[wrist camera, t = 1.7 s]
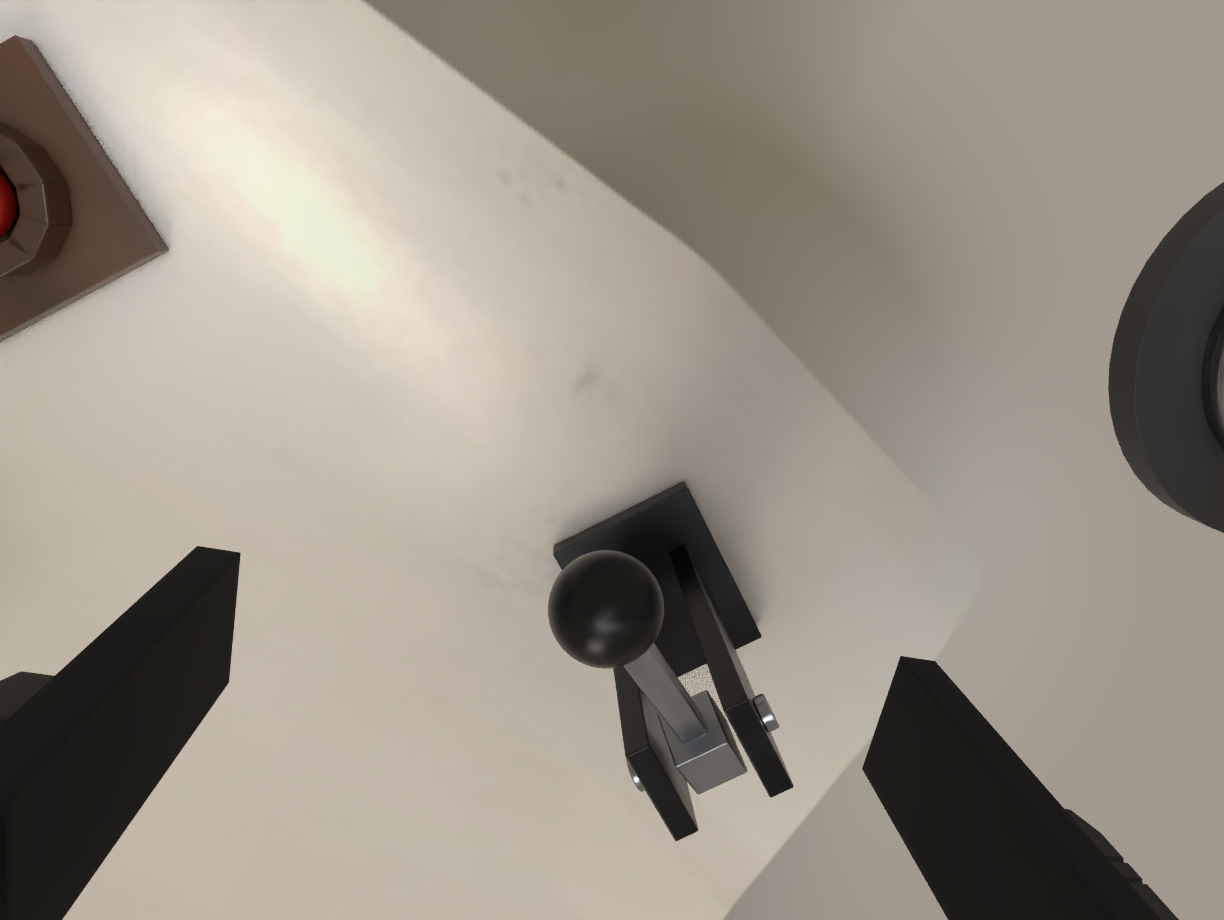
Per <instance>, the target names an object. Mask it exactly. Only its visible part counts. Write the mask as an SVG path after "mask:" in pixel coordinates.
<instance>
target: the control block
mask: <svg viewBox="0 0 1224 920" xmlns="http://www.w3.org/2000/svg"><path fill="white" fill-rule="evenodd" d="M0 172H1V173H2V174H3V175H4V176H5V178H6V179H7V180H8V182H9V184H10V185H11V187H12V190H13V192H14V195H15V200H16V215H15V219H14V222H13V224H12V226H11V227H10V229H9V230H8V231H7V232H6V233H5V234H4V235H3V236H1V237H0V342H1V341H2V340H4V339H6V338H8V337H10V336H12V335H14V334H15V333H17V332H19V331H21V330H23V329H25V328H27V327H28V326H30V325H32V324H34V323H36V322H38V321H39V320H41V319H43V318H45V317H47V316H49V315H51V314H52V313H54V312H56V311H58V310H60V309H62V308H63V307H65V306H67V305H69V304H71V303H73V302H75V301H76V300H78V299H80V298H82V297H84V296H86V295H88V294H89V293H91V292H93V291H95V290H97V289H99V288H100V287H102V286H104V285H106V284H108V283H110V282H112V281H113V280H115V279H117V278H119V277H121V276H123V275H124V274H126V273H128V272H130V271H132V270H134V269H136V268H137V267H139V266H141V265H143V264H145V263H147V262H148V261H150V260H152V259H154V258H156V257H158V256H160V255H161V254H163V253H165V252H167V251H168V248H167V247H166V245H165V244H164V242H163V241H162V239H161V238H160V236H159V235H158V233H157V232H156V230H155V229H154V227H153V225H152V224H151V222H150V221H149V219H148V218H147V216H146V215H145V213H144V212H143V210H142V209H141V207H140V206H139V204H138V202H137V201H136V199H135V198H134V196H133V195H132V193H131V192H130V190H129V189H128V187H127V186H126V184H125V183H124V181H123V179H122V178H121V176H120V175H119V173H118V172H117V170H116V169H115V167H114V166H113V164H112V163H111V161H110V160H109V158H108V157H107V155H106V153H105V152H104V150H103V149H102V147H101V146H100V144H99V143H98V141H97V140H96V138H95V137H94V135H93V134H92V132H91V130H90V129H89V127H88V126H87V124H86V123H85V121H84V120H83V118H82V117H81V115H80V114H79V112H78V111H77V109H76V107H75V106H74V104H73V103H72V101H71V100H70V98H69V97H68V95H67V94H66V92H65V91H64V89H63V88H62V86H61V84H60V83H59V81H58V80H57V78H56V77H55V75H54V74H53V72H52V71H51V69H50V68H49V66H48V65H47V63H46V62H45V60H44V58H43V57H42V55H41V54H40V52H39V51H38V49H37V48H36V46H35V45H34V43H33V42H32V41H30V40H27V39H25V38H22V37H19V36H16V35H15V36H13V37H11V38H9V39H8V40H6V41H4V42H2V43H1V44H0Z"/></svg>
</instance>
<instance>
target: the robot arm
mask: <svg viewBox="0 0 1224 920" xmlns="http://www.w3.org/2000/svg"><path fill="white" fill-rule="evenodd" d="M1202 400H1203V406H1204V411H1205V415H1206V418H1207V421H1208V424H1209V427H1210V429H1211V431H1212V433H1213V435H1214V437H1215V438H1216V440H1217V442H1218V443H1219V445H1220V446H1221V447H1222V449H1223V450H1224V307H1223V308H1222V310H1221V312H1220V314H1219V316H1218V318H1217V320H1216V322H1215V325H1214V327H1213V330H1212V332H1211V335H1210V338H1209V341H1208V344H1207V348H1206V351H1205V356H1204V362H1203V369H1202ZM239 564H240V553H238V552H232V551H226V550H219V549H213V548H206V547H200V546H197V547H196V548H195V549H194V550H193V551H191V552H190V553H189V554H188V555H187V556H186V557H185V558H184V559H183V560H182V561H180V562H179V563H178V564H177V565H176V566H175V567H174V568H173V569H172V570H171V571H169V572H168V573H167V574H166V575H165V576H164V577H163V578H162V579H161V580H160V581H158V582H157V583H156V584H155V585H154V586H153V587H152V588H151V589H150V590H149V591H148V592H146V593H145V594H144V595H143V596H142V597H141V598H140V599H139V600H138V601H137V602H135V603H134V604H133V605H132V606H131V607H130V608H129V609H128V610H127V611H126V612H124V613H123V614H122V615H121V616H120V617H119V618H118V619H117V620H116V621H115V622H114V623H112V624H111V625H110V626H109V627H108V628H107V629H106V630H105V631H104V632H103V633H101V634H100V635H99V636H98V637H97V638H96V639H95V640H94V641H93V642H92V643H90V644H89V645H88V646H87V647H86V648H85V649H84V650H83V651H82V652H81V653H80V654H78V655H77V656H76V657H75V658H74V659H73V660H72V661H71V662H70V663H69V664H67V665H66V666H65V667H64V668H63V669H62V670H61V671H60V672H59V673H58V674H56V675H55V676H51V675H43V674H36V673H28V672H19V673H17V674H15V675H12V676H10V677H8V678H6V679H3V680H1V681H0V920H62V919H63V918H64V916H65V915H66V913H67V912H68V911H69V909H70V908H71V906H72V905H73V903H74V902H75V901H76V899H77V898H78V896H79V895H80V893H81V892H82V891H83V889H84V888H85V886H86V885H87V883H88V882H89V881H90V879H91V878H92V876H93V875H94V874H95V872H96V871H97V869H98V868H99V866H100V865H101V864H102V862H103V861H104V859H105V858H106V856H107V855H108V854H109V852H110V851H111V849H112V848H113V846H114V845H115V844H116V842H117V841H118V839H119V838H120V837H121V835H122V834H123V832H124V831H125V829H126V828H127V827H128V825H129V824H130V822H131V821H132V819H133V818H134V817H135V815H136V814H137V812H138V811H139V810H140V808H141V807H142V805H143V804H144V802H145V801H146V800H147V798H148V797H149V795H150V794H151V792H152V791H153V790H154V788H155V787H156V785H157V784H158V782H159V781H160V780H161V778H162V777H163V775H164V774H165V773H166V771H167V770H168V768H169V767H170V765H171V764H172V763H173V761H174V760H175V758H176V757H177V755H178V754H179V753H180V751H181V750H182V748H183V747H184V745H185V744H186V743H187V741H188V740H189V738H190V737H191V736H192V734H193V733H194V731H195V730H196V728H197V727H198V726H199V724H200V723H201V721H202V720H203V718H204V717H205V716H206V714H207V713H208V711H209V710H210V708H211V707H212V706H213V704H214V703H215V701H216V700H217V699H218V697H219V696H220V694H221V693H222V691H223V690H224V689H225V687H226V686H227V684H228V683H229V675H230V664H231V653H232V642H233V630H234V619H235V608H236V597H237V586H238V575H239ZM862 769H863V771H864V773H865V774H866V776H867V778H868V780H869V781H870V783H871V785H872V787H873V788H874V790H875V792H876V794H877V796H878V797H879V799H880V801H881V803H882V804H883V806H884V808H885V810H886V811H887V813H888V815H889V817H890V818H891V820H892V822H893V824H894V825H895V827H896V829H897V831H898V832H899V834H900V836H901V838H902V839H903V841H904V843H905V845H906V846H907V848H908V850H909V852H910V853H911V855H912V857H913V859H914V860H915V862H916V864H917V866H918V867H919V869H920V871H921V873H922V875H923V876H924V878H925V880H926V881H927V883H928V885H929V887H930V888H931V890H932V892H933V894H934V895H935V897H936V899H937V901H938V903H939V904H940V906H941V908H942V909H943V911H944V913H945V915H946V917H947V918H948V920H1179V919H1178V918H1177V917H1176V916H1175V915H1174V914H1173V913H1172V912H1171V911H1170V910H1169V908H1168V907H1167V906H1166V905H1165V904H1164V903H1163V902H1162V901H1161V899H1160V898H1159V897H1158V896H1157V895H1156V894H1155V893H1154V892H1153V891H1152V889H1151V888H1149V886H1148V885H1146V884H1143V883H1142V878H1141V877H1140V876H1139V875H1138V874H1137V873H1136V872H1135V871H1134V869H1133V868H1132V867H1131V866H1130V865H1129V864H1128V863H1124V862H1123V857H1122V856H1121V855H1120V854H1119V853H1118V852H1117V851H1116V850H1115V848H1114V847H1113V846H1112V845H1111V844H1110V843H1109V842H1108V841H1107V840H1106V838H1105V837H1104V836H1103V835H1102V834H1101V833H1100V832H1099V831H1097V830H1096V829H1095V828H1093V827H1092V826H1091V825H1089V824H1088V823H1087V822H1086V821H1084V820H1083V819H1082V818H1080V817H1079V816H1078V815H1076V814H1075V813H1074V812H1072V811H1071V810H1068V809H1064V808H1063V807H1062V806H1061V805H1060V803H1059V802H1058V801H1057V800H1056V799H1055V798H1054V797H1053V795H1052V794H1051V793H1050V792H1049V791H1048V790H1047V789H1046V788H1045V786H1044V785H1043V784H1042V783H1041V782H1040V781H1039V780H1038V778H1037V777H1036V776H1035V775H1034V774H1033V773H1032V771H1031V770H1030V769H1029V768H1028V767H1027V766H1026V765H1025V763H1024V762H1023V761H1022V760H1021V759H1020V758H1019V757H1018V755H1017V754H1016V753H1015V752H1014V751H1013V750H1012V749H1011V747H1010V746H1009V745H1008V744H1007V743H1006V742H1005V741H1004V740H1003V738H1002V737H1001V736H1000V735H999V734H998V733H997V731H996V730H995V729H994V728H993V727H992V726H991V725H990V724H989V722H988V721H987V720H986V719H985V718H984V717H983V716H982V714H981V713H980V712H979V711H978V710H977V709H976V708H975V707H974V705H973V704H972V703H971V702H970V701H969V700H968V698H967V697H966V696H965V695H964V694H963V693H962V692H961V690H960V689H959V688H958V687H957V686H956V685H955V684H954V682H953V681H952V680H951V679H950V678H949V677H948V676H947V674H946V673H945V672H944V671H943V670H942V669H941V668H940V666H939V665H938V664H937V663H936V662H935V661H929V660H923V659H916V658H910V657H903V656H901V657H900V660H899V663H898V666H897V668H896V671H895V674H894V677H893V680H892V683H891V686H890V689H889V692H888V695H887V698H886V701H885V704H884V707H883V709H882V712H881V715H880V718H879V721H878V724H877V727H876V730H875V733H874V736H873V739H872V742H871V745H870V748H869V751H868V753H867V756H866V759H865V762H864V765H863V768H862Z"/></svg>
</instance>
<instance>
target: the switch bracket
mask: <svg viewBox="0 0 1224 920" xmlns="http://www.w3.org/2000/svg"><path fill="white" fill-rule="evenodd" d="M601 550H611V551H618V552H622V553H625V554H628V555H630V556H632V557H634V558H635V559H637V560H639V561H640V562H642V563H643V564H644V565H645V566H646V567H647V568H648V569H649V570H650V571H651V573H652V574H653V575H654V577H655V578H656V580H657V582H658V584H659V586H660V589H661V592H662V596H663V601H664V617H663V623H662V627H661V630H660V632H659V635H658V637H657V638H656V640H655V642H654V644H655V645H656V647H657V648H658V650H659V651H660V653H661V654H662V656H663V657H664V659H665V660H666V662H667V663H668V665H669V666H670V667H671V669H672V670H673V672H674V673H675V675H676V676H677V677H679V676H681V675H683V674H685V673H687V672H689V671H692V670H694V669H696V668H698V667H700V666H702V665H704V664H706V663H707V665H708V667H709V670H710V673H711V676H712V679H713V682H714V685H715V687H716V690H717V693H718V696H719V699H720V702H721V704H722V707H723V710H724V712H725V714H726V716H727V718H728V720H729V722H730V723H731V725H732V727H733V729H734V731H735V733H736V735H737V737H738V738H739V740H740V742H741V744H742V746H743V748H744V750H745V752H746V753H747V755H748V757H749V759H750V761H751V763H752V765H753V767H754V768H755V770H756V772H757V774H758V776H759V778H760V780H761V782H762V783H763V785H764V787H765V789H766V791H767V793H768V795H769V796H770V797H773V796H775V795H778V794H780V793H782V792H784V791H786V790H788V789H791V788H793V783H792V781H791V779H790V776H789V774H788V772H787V769H786V767H785V765H784V762H783V760H782V758H781V755H780V753H779V751H778V748H777V746H776V744H775V741H774V739H773V737H772V734H771V731H773V730H775V729H777V728H779V724H778V722H777V720H776V718H775V716H774V714H773V711H772V709H771V707H770V705H769V703H768V701H767V699H766V698H765V696H764V694H760V695H758V696H756V697H755V695H754V692H753V690H752V688H751V685H750V683H749V681H748V678H747V676H746V674H745V671H744V669H743V667H742V664H741V662H740V660H739V657H738V655H737V653H736V649H738V648H740V647H742V646H744V645H746V644H748V643H750V642H752V641H754V640H757V639H759V638H761V634H760V632H759V630H758V628H757V626H756V623H755V621H754V619H753V617H752V615H751V613H750V611H749V609H748V607H747V605H746V603H745V601H744V599H743V597H742V595H741V593H740V591H739V589H738V587H737V585H736V583H735V581H734V579H733V577H732V575H731V573H730V571H729V569H728V567H727V565H726V563H725V561H724V559H723V557H722V555H721V553H720V551H719V549H718V547H717V545H716V543H715V541H714V539H713V537H712V535H711V533H710V531H709V529H708V527H707V525H706V523H705V521H704V519H703V517H702V515H701V513H700V511H699V509H698V507H697V505H696V503H695V501H694V499H693V497H692V495H691V493H690V491H689V489H688V487H687V485H686V483H685V482H682V483H680V484H678V485H676V486H674V487H672V488H670V489H668V490H666V491H664V492H662V493H660V494H658V495H656V496H654V497H652V498H650V499H648V500H646V501H644V502H642V503H640V504H638V505H636V506H634V507H632V508H630V509H628V510H626V511H624V512H622V513H620V514H618V515H615V516H613V517H611V518H609V519H607V520H605V521H603V522H601V523H599V524H597V525H595V526H593V527H591V528H589V529H587V530H585V531H583V532H581V533H579V534H577V535H575V536H573V537H571V538H569V539H567V540H565V541H563V542H561V543H559V544H557V545H555V546H554V547H553V554H554V557H555V559H556V560H557V562H558V564H559V566H560V567H561V569H562V570H563V569H564V568H565V567H566V566H567V565H568V564H570V563H571V562H572V561H574V560H575V559H577V558H578V557H580V556H582V555H585V554H587V553H590V552H595V551H601ZM614 676H615V683H616V690H617V698H618V705H619V712H620V720H621V727H622V734H623V742H624V749H625V756H626V759H627V765H628V769H629V772H630V775H631V777H632V779H633V781H634V783H635V785H636V787H637V788H638V789H639V790H640V791H641V792H642V791H646V792H647V794H648V796H649V797H650V799H651V801H652V802H653V804H654V806H655V808H656V809H657V811H658V813H659V814H660V816H661V818H662V819H663V821H664V823H665V824H666V826H667V828H668V829H669V831H670V833H671V835H672V836H673V838H674V840H675V841H678V840H680V839H682V838H684V837H686V836H688V835H691V834H693V833H695V832H697V831H698V827H697V823H696V818H695V814H694V810H693V806H692V802H691V798H690V793H689V789H688V785H687V781H686V779H685V778H684V777H683V776H682V774H681V773H680V772H679V771H678V769H677V768H676V767H675V764H674V761H673V759H672V756H671V753H670V750H669V747H668V744H667V741H666V738H665V735H664V733H663V730H662V727H661V724H660V721H659V718H658V715H657V714H658V713H659V712H658V711H657V709H656V708H655V707H654V705H653V704H652V703H651V702H650V700H649V699H648V698H647V696H646V695H645V694H644V692H643V691H642V690H641V688H640V687H639V686H638V684H637V683H636V682H635V680H634V679H633V678H632V676H631V675H630V674H629V673H628V671H627V670H626V669H625V667H624V666H620V667H615V668H614Z"/></svg>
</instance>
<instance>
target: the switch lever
mask: <svg viewBox="0 0 1224 920" xmlns="http://www.w3.org/2000/svg"><path fill="white" fill-rule="evenodd" d="M548 616H549V622H550V626H551V629H552V632H553V634H554V636H555V638H556V640H557V642H558V643H559V644H560V646H561V647H562V648H563V649H564V650H565V651H566V652H567V653H568V654H569V655H570V656H571V657H573V658H574V659H576V660H577V661H579V662H581V663H583V664H586V665H589V666H592V667H597V668H615V667H620V666H624V667H625V669H626V670H627V671H628V673H629V674H630V675H631V676H632V678H633V679H634V680H635V682H636V683H637V684H638V686H639V687H640V688H641V690H642V691H643V692H644V694H645V695H646V696H647V698H648V699H649V700H650V702H651V703H652V704H653V705H654V707H655V708H656V709H657V711H658V712H659V713H658V714H657V715H658V718H659V721H660V724H661V727H662V730H663V733H664V735H665V738H666V741H667V744H668V747H669V750H670V753H671V756H672V759H673V761H674V764H675V767H676V768H677V769H678V771H679V772H680V773H681V774H682V776H683V777H684V778H685V779H686V780H687V782H688V783H689V784H690V785H691V787H692V788H693V789H694V790H695V792H696V793H697V794H701V793H703V792H705V791H707V790H709V789H712V788H714V787H716V786H718V785H720V784H722V783H724V782H727V781H729V780H731V779H733V778H735V777H737V776H740V775H742V774H744V773H746V772H747V768H746V766H745V763H744V761H743V759H742V756H741V754H740V751H739V749H738V747H737V744H736V742H735V739H734V737H733V735H732V732H731V730H730V728H729V725H728V723H727V720H726V719H725V717H724V716H723V714H722V713H721V711H720V710H719V708H718V706H717V705H716V703H715V702H714V700H713V699H712V697H711V696H710V694H709V692H708V691H707V690H705V691H703V692H701V693H699V694H696V695H694V696H692V697H690V695H689V694H688V692H687V691H686V690H685V688H684V687H683V685H682V684H681V682H680V681H679V679H678V678H677V676H676V675H675V673H674V672H673V670H672V669H671V667H670V666H669V665H668V663H667V662H666V660H665V659H664V657H663V656H662V654H661V653H660V651H659V650H658V648H657V647H656V645H655V644H654V642H655V640H656V638H657V637H658V635H659V632H660V630H661V627H662V623H663V617H664V601H663V596H662V592H661V589H660V586H659V584H658V582H657V580H656V578H655V577H654V575H653V574H652V573H651V571H650V570H649V569H648V568H647V567H646V566H645V565H644V564H643V563H642V562H640V561H639V560H637V559H635V558H634V557H632V556H630V555H628V554H625V553H622V552H618V551H611V550H601V551H595V552H590V553H587V554H585V555H582V556H580V557H578V558H577V559H575V560H574V561H572V562H571V563H570V564H568V565H567V566H566V567H565V568H564V569H563V570H562V572H561V573H560V574H559V576H558V577H557V579H556V581H555V582H554V585H553V587H552V590H551V592H550V597H549V602H548Z"/></svg>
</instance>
